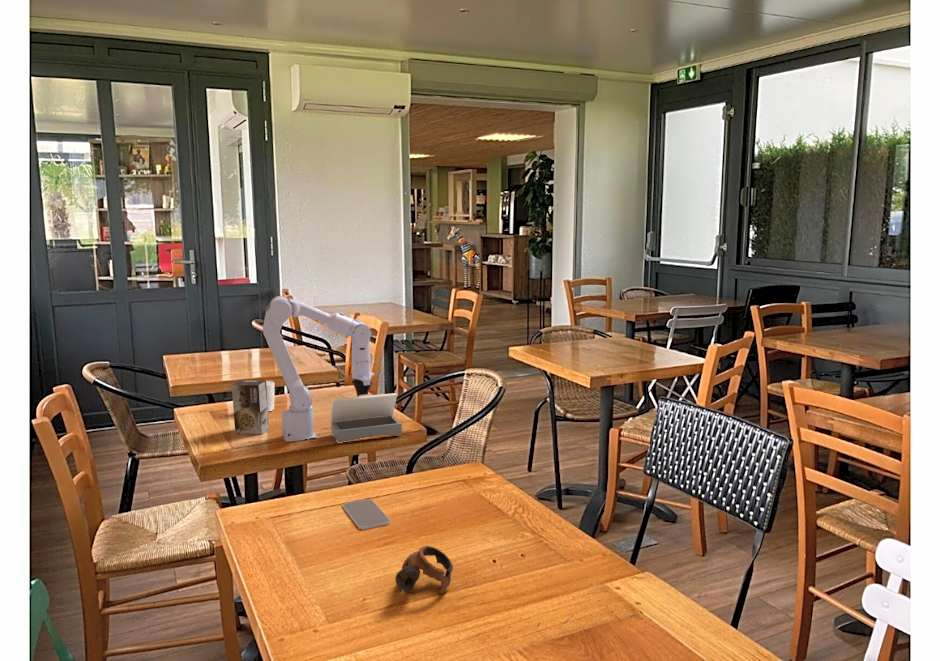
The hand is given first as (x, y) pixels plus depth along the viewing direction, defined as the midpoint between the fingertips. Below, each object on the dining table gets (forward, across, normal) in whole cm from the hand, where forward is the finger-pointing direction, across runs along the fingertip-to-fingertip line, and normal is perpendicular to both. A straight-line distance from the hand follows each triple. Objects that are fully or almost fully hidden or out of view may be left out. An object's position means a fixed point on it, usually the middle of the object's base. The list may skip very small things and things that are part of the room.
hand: (362, 402), depth 224 cm
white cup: (+10, +37, +27) cm, 46 cm away
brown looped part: (+10, -98, +13) cm, 100 cm away
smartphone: (+10, -62, +14) cm, 65 cm away
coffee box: (+10, +14, +33) cm, 37 cm away
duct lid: (+1, -2, 0) cm, 3 cm away
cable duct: (+9, -4, 0) cm, 10 cm away
